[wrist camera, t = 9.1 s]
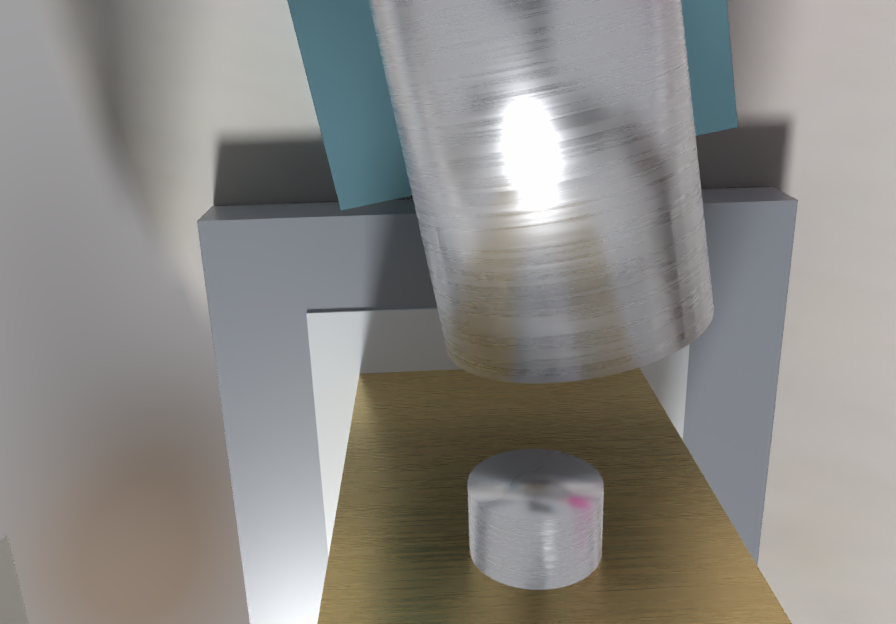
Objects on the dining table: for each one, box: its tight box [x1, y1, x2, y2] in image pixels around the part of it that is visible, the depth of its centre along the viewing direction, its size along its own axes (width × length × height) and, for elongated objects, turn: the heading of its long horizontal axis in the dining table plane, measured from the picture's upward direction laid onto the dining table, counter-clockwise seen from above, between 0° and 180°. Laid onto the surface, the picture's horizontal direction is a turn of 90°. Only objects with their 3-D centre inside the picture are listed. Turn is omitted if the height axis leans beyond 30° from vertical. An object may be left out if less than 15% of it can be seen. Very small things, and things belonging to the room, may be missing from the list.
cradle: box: [197, 187, 798, 624], centre depth 15 cm, size 9×9×1 cm
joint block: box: [317, 367, 792, 624], centre depth 11 cm, size 6×4×7 cm
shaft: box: [287, 0, 738, 383], centre depth 10 cm, size 7×5×6 cm
